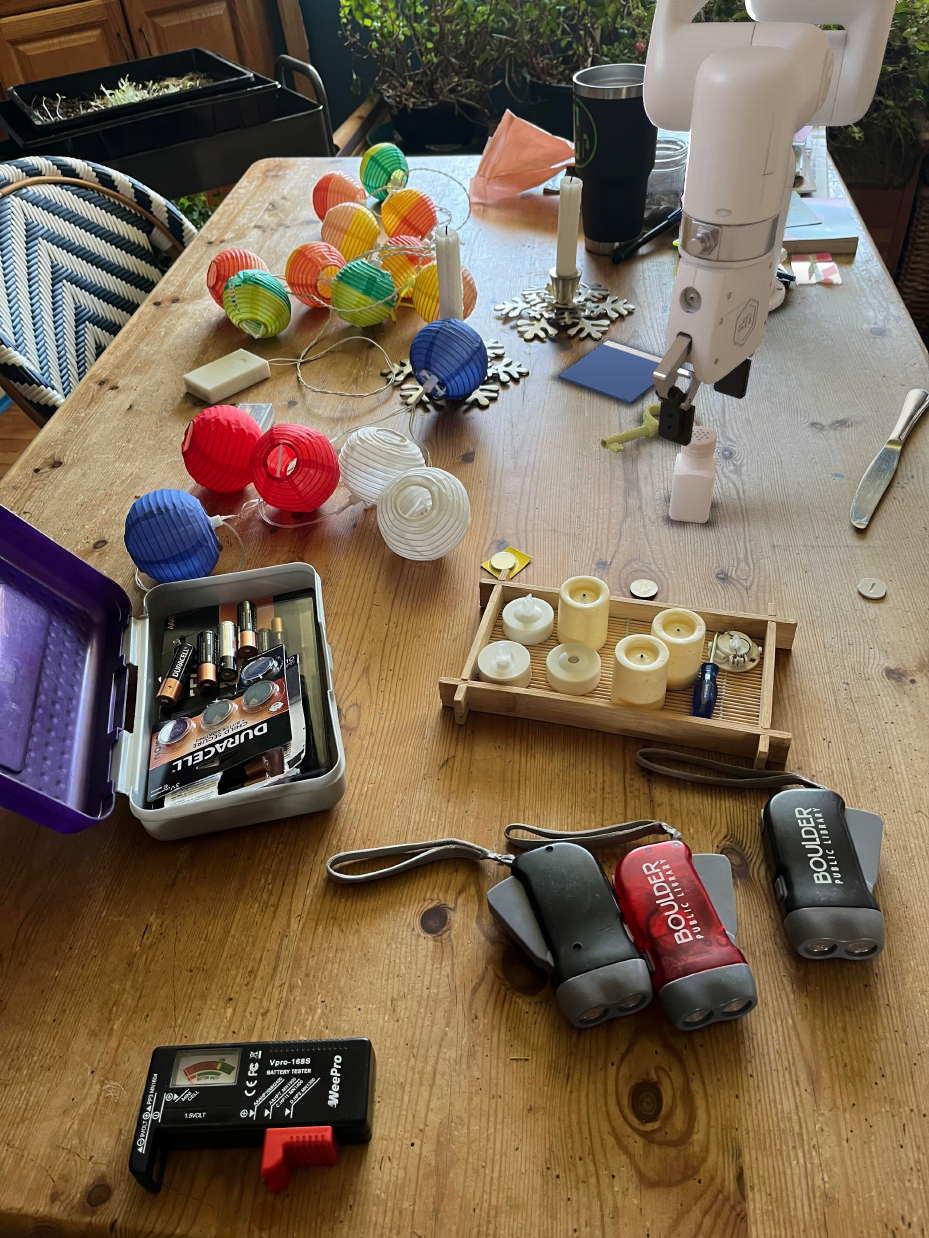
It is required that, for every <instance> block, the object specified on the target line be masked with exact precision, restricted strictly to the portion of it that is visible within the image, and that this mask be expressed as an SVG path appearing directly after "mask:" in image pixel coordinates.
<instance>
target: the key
mask: <svg viewBox="0 0 929 1238" xmlns="http://www.w3.org/2000/svg"><path fill="white" fill-rule="evenodd" d="M660 405H661V403H651V404H649V405H647V406H645V408H644V410H643V413H642V421H643V422H642V425H641V426H638V427H635V428H632V429H629V430H625V431H622V432H619V433H617V434H613V435H610V436H608V437H605V438H601V440H600V446H601V448H602V449H603V450H610V451H611V452H612V453H614V454H615V455H617V454H618V453H622V452H624V451H625V447H624V446H622V445H623V444H626V443H628V442H631V441H635V440H637V439H641V438H643V437H645V438H647V439H651V438H653V436H654V435H655V434H657V435H658V425H659V420H658V419H656V418H655V417H654V415H660ZM693 426H697V423H696V422H695V421H694V423H693Z"/></svg>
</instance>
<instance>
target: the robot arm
mask: <svg viewBox="0 0 929 1238" xmlns="http://www.w3.org/2000/svg"><path fill="white" fill-rule="evenodd" d="M656 1H657V2H656V5H655V11H654V16H653V22H652V27H651V33H650V37H649V43H648V48H647V53H646V59H645V66H644V75H643V85H642V98H643V106H644V110H645V114H646V116H647V117H648V119H649V121H650V122H651V124H652V125H653V126H654V127H656V128H657V129H660V130H661V131H662V130H663V131H665V132H669V133H684V134H685V133H689V138H688V149H687V160H686V168H685V178H684V187H683V197H682V198H683V199H682V209H681V217H680V228H679V238H678V248H677V249H678V253H679V255H680V256H681V257H680V259H679V262H678V267H677V272H676V275H675V278H674V279H675V280H674V284H673V289H672V295H671V300H670V307H669V311H668V319H667V325H666V334H665V343H664V356H663V357H662V358H663V359H662V361H661V362H660V364H659V365H658V367H657V368H656V370H655V371H654V373H653V382H654V385H655V386H654V394H655V396H656V397H657V400H658V402H660V404H661V405H660V414H658V415H659V417H658V421H659V425H658V434H657V435H658V437H660V438H662V439H664V440H668V441H670V442H672V443H674V444H678V445H680V446H681V445H683V446H687V445H688V444H690V443H691V439H692V431H693V423H694V422H695V416H696V415H695V414H696V408H697V407H696V405H694V404H692V403H693V402H694V399H695V397H696V394H697V393H698V390H699V388H700V386H701V383H704V384H705V385H708V386H709V385H713V391H714V392H717V393H719V394H722V395H725V396H728V397H731V398H734V399H738V400H742V399H744V398H745V397H746V395H747V389H748V385H749V379H750V373H751V367H752V361H753V360H752V359H751V358H752V357H754V355H755V353H756V351H757V350H758V349H759V348H760V347H761V345H762V344H763V342H764V340H765V336H766V331H767V323H768V316H769V312H772V311H774V310H775V309H776V308H778V307H780V306H781V305H782V304H783V302H784V300H785V296H786V287H785V285H784V284H783V282H781V280H779V279H778V278H777V275H778V271H779V266H780V265H781V263H783V262H784V261H786V259H787V258H788V251H787V249H785V248H784V247H783V242H784V239H785V232H786V227H787V221H788V216H789V209H790V204H791V198H792V193H793V188H794V182H795V178H796V170H797V159H796V154H795V150H794V148H793V142H794V136H795V135H796V134H798V133H799V132H800V131H801V130H802V129H803V128H804V127H843V126H849V125H852V124H853V125H854V124H855V123H857V122H858V121H860V120H861V119H862V118H863V117H864V116H865V115H866V114H867V112H868V110H869V108H870V106H871V104H872V101H873V99H874V96H875V94H876V90H877V85H878V82H879V77H880V74H881V69H882V65H883V61H884V56H885V53H886V48H887V43H888V39H889V35H890V31H891V27H892V22H893V19H894V14H895V9H896V5H897V1H898V0H744V2H745V9H746V11H747V14H748V15H749V16H750V17H751V19H752V20H754V21H741V22H738V21H737V22H736V21H731V22H726V21H725V22H724V21H721V22H717V21H715V22H713V21H712V22H711V21H709V22H693V20H694V19H695V16H696V15H697V14H698V12H699V11H701V9H702V8H703V7H704V6H705V5H706V4H707V3H708V2H709V1H710V0H656ZM818 25H823V26H824V25H840V26H842V28H844V29H842V30H841V29H839V30H833V29H832V30H824V29H822V28H820V27H819V26H818ZM686 363H687V364H689V365H692V369H693V370H691V369H687V368H684V367H682V366H684V365H685V364H686ZM679 377H681V378H683V379H684V378H685V379H687V380H689V382H688V383H687V386H686V388H685V390H684V392H683V391H682V389H681V388H680V387H679V386H676V383H677V381H678V378H679Z"/></svg>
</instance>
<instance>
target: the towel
mask: <svg viewBox="0 0 929 1238" xmlns="http://www.w3.org/2000/svg"><path fill="white" fill-rule="evenodd" d="M663 358H664V357H662V356H659V355H657V354H653V353H650V352H647V351H643V350H641V349H638V348H635V347H632V346H629V345H625V344H623V343H619V342H617V341H614V340H610V339H607V340H606V341H604V342H603V343H602V344H601V345H599V346H598V347H596V348H594V349H593V350H592V351H590V353H588V354H586V355H585V356H584V357H582V358H580V359H579V360H578V361H576V362H575V363H573V364H572V365H571V366H569V367H568V368H566V369H565V370H563V371H562V372H561V373H560V374H558V377H557V378H558V379H560V380H562V381H566V382H568V383H571V384H573V385H577V386H580V387H582V388H585V389H587V390H590V391H592V392H595V393H599V394H601V395H603V396H606V397H609V398H612V399H614V400H617V401H620V402H623V403H625V404H628V405H632V404H633V403H634V402H635V401H637V400H638V399H639V398H641V397H642V396H643V395H645V394H646V393H647V392H648V391H650V390H651V389H652V388H654V387H655V385H654V382H653V373H654V371H655V370H656V368H657V367H658V365H659V364H660V362H661V361H662V359H663Z"/></svg>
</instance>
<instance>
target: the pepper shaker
mask: <svg viewBox="0 0 929 1238" xmlns="http://www.w3.org/2000/svg"><path fill="white" fill-rule="evenodd" d="M717 440H718V435H717V432H716V430H714V429H712V428H711V427H709V426H705V425H696V426H693V431H692V439H691V443H690V444H688V445H687V446H683V445H680V452H679V453H678V454H676V456H675V461H674V462H675V463H674V468H673V473H672V474H673V475H672V482H671V492H670V499H669V509H668V515H669V517H670V519H671V520H673V521H677V522H685V523H687V522H688V523H695V524H705V523H706V522H708V520H709V517H710V512H711V507H712V498H713V492H714V486H715V479H716V473H717V465H718V457H717V456H715V452H716V446H717Z"/></svg>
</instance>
